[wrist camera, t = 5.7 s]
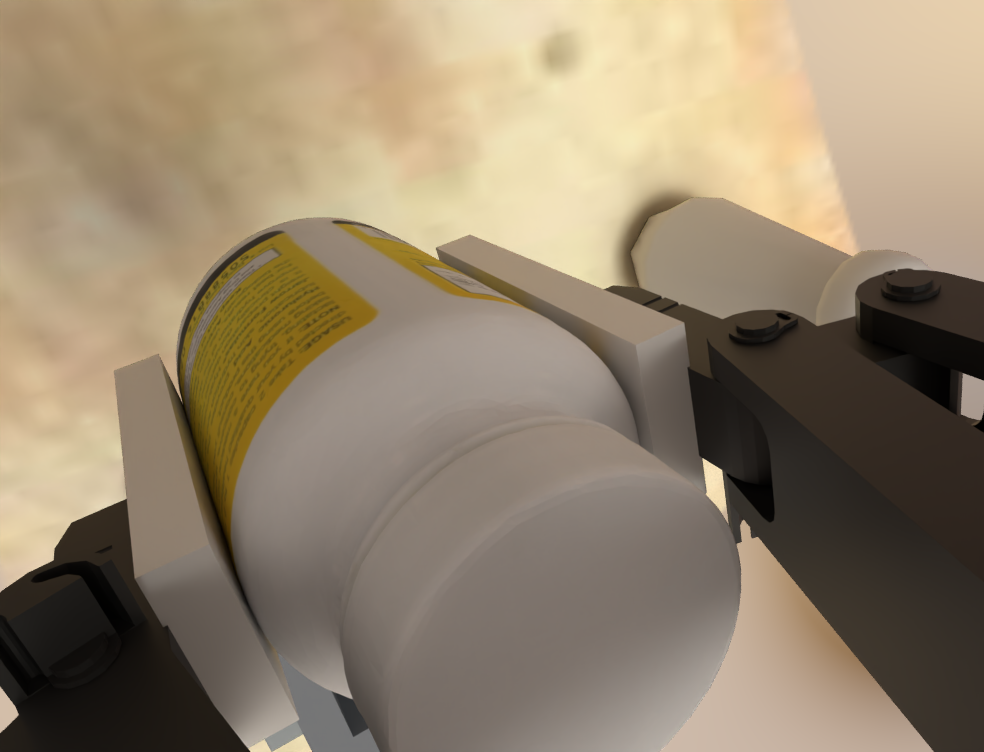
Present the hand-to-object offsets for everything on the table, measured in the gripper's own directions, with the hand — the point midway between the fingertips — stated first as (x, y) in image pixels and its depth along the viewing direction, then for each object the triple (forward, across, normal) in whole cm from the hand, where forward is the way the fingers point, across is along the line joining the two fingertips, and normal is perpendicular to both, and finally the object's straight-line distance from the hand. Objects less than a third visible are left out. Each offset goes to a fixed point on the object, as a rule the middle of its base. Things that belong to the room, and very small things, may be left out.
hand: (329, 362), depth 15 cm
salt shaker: (+16, +19, -8) cm, 25 cm away
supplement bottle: (+1, 0, 0) cm, 1 cm away
